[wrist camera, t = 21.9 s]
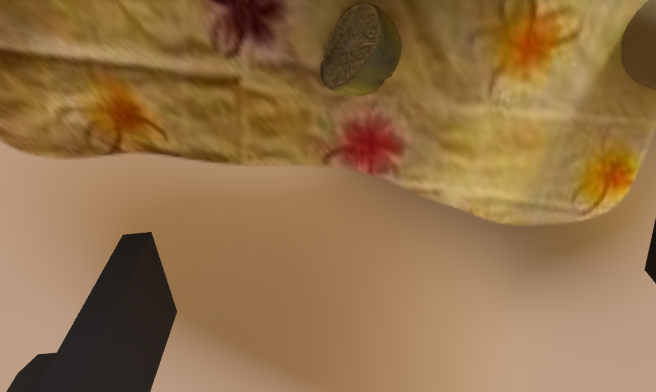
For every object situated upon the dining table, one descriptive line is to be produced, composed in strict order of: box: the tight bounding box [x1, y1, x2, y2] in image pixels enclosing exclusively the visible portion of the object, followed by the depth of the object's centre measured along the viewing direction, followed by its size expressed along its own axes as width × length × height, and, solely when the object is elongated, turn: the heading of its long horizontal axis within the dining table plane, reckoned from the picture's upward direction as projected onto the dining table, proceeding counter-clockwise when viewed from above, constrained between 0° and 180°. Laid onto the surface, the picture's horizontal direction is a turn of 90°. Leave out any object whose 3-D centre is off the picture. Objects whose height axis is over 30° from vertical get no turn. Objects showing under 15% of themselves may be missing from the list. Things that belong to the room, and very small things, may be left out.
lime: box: [321, 3, 402, 96], centre depth 30 cm, size 4×5×5 cm
